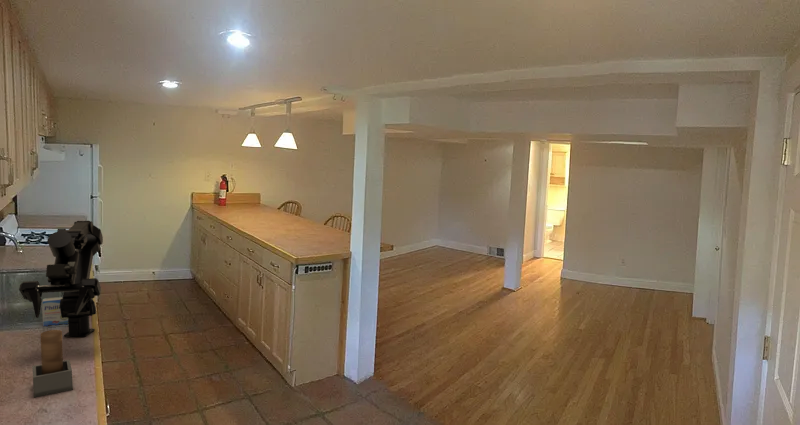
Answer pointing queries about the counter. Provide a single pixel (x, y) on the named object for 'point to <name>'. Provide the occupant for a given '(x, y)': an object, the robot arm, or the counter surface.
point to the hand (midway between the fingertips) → (56, 315)
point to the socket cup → (52, 380)
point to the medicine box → (52, 312)
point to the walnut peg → (51, 351)
